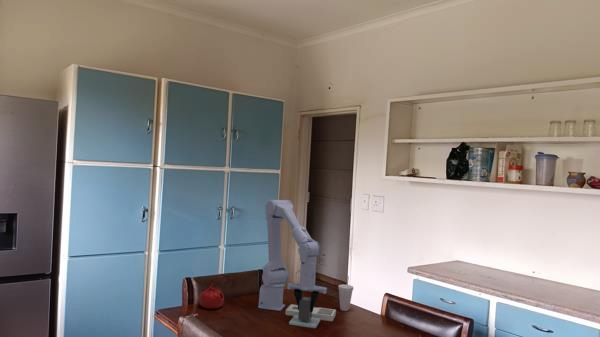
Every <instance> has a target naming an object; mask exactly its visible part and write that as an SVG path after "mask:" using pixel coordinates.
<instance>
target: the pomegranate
mask: <svg viewBox="0 0 600 337" xmlns="http://www.w3.org/2000/svg"><path fill="white" fill-rule="evenodd" d="M202 289H204V290H203V291H202V292H201V293H200V294H199V304H200V306H201V307H202V308H205V309H207V310H215V309H219V308H221V307H222V306H223V305H224V301H225V295H224V293H223V292H222V290H221V288H220V287H219V286H216V287H214V283H212V282H211V283H210V285H209V286H208V287H203V288H202Z"/></svg>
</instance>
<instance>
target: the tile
mask: <svg viewBox="0 0 600 337" xmlns="http://www.w3.org/2000/svg"><path fill="white" fill-rule="evenodd" d="M320 322H321V320H320V318H313V317H311V319H310V320H309V321H306V320H299V319H298V315H294V316H292V318H291V319H290V320H289V322H288V325H290V326H291V325H292V326H298V327H305V328H311V329H316V328H317V327H318V325H319V323H320Z"/></svg>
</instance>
